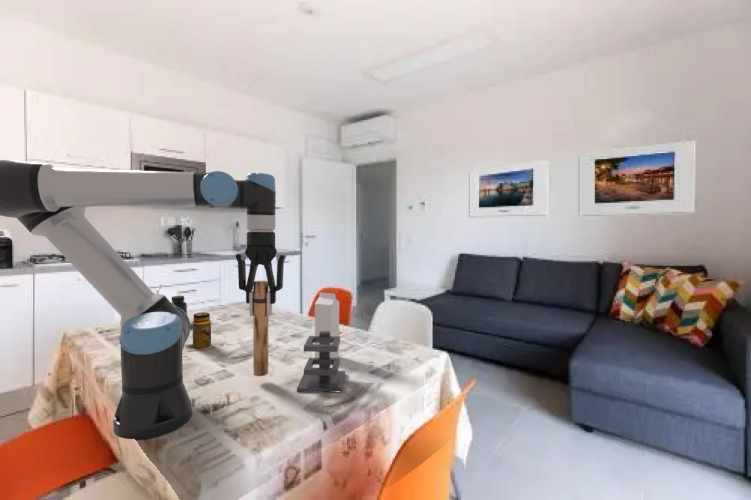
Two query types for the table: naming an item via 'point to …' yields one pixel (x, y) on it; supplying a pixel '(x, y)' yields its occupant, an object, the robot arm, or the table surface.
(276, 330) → the table surface
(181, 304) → the supplement bottle
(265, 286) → the brown wooden cylinder
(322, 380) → the collar stand
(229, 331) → the table surface
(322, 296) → the milk
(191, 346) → the condiment
